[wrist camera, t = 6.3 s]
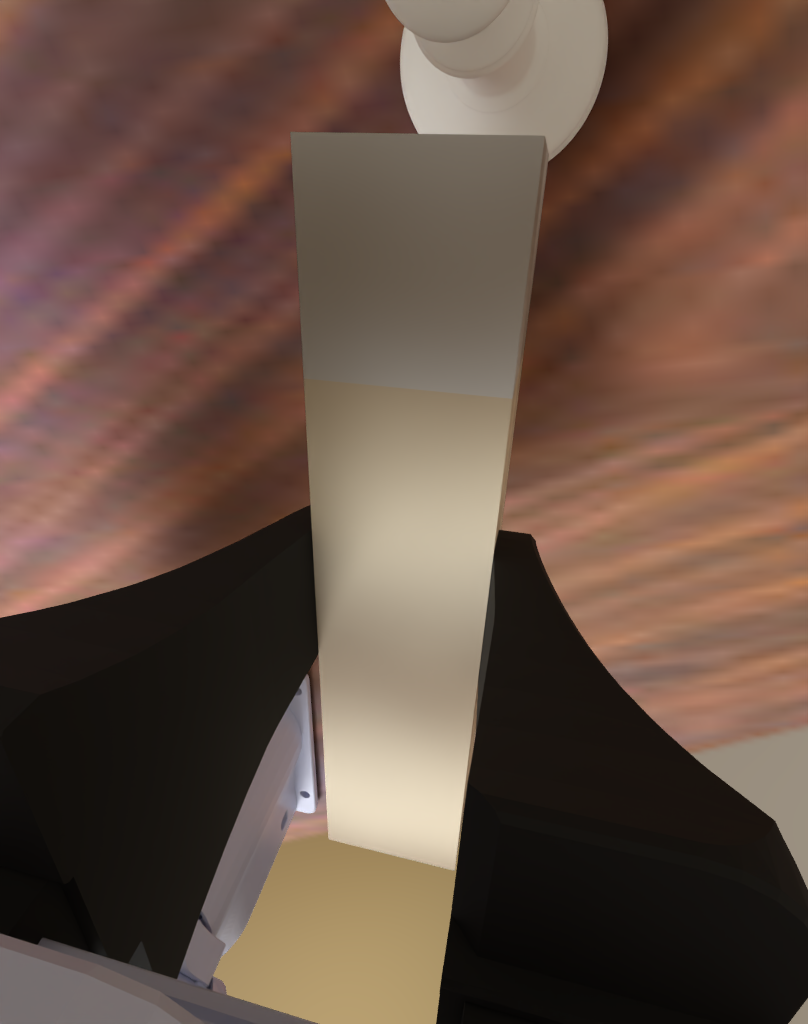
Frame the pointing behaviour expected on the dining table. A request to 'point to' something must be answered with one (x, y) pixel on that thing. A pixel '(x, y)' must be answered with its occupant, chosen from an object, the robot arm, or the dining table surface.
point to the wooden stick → (408, 453)
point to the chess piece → (502, 66)
